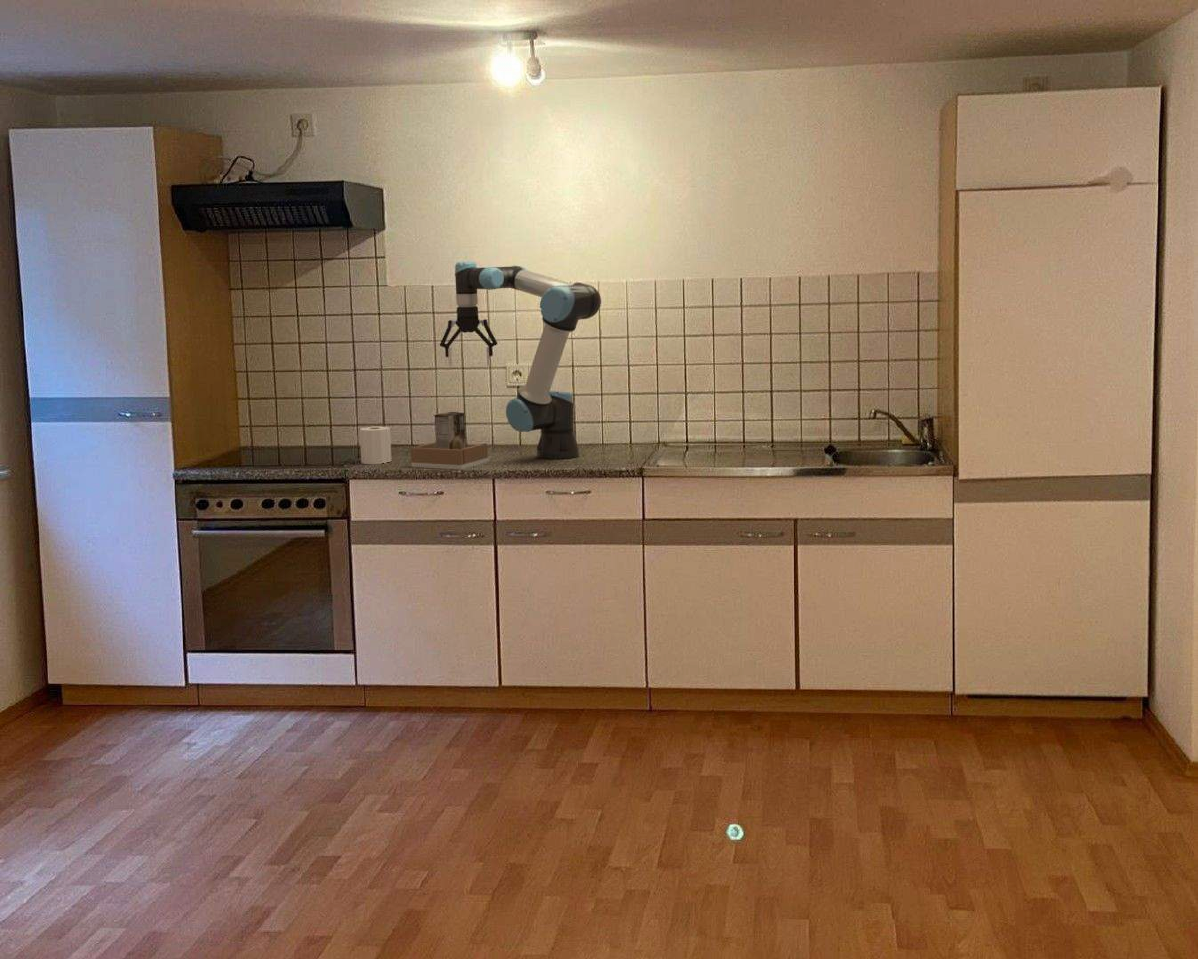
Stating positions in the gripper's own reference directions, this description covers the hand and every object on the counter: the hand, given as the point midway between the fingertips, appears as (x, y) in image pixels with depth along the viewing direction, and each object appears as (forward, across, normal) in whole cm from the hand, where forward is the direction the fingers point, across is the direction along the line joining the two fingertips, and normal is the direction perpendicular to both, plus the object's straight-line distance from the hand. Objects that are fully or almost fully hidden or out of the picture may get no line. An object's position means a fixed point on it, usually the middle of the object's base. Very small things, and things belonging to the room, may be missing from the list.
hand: (469, 366), depth 522 cm
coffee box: (+30, +5, +23) cm, 38 cm away
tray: (+32, +5, +23) cm, 40 cm away
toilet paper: (+32, +32, +15) cm, 48 cm away
